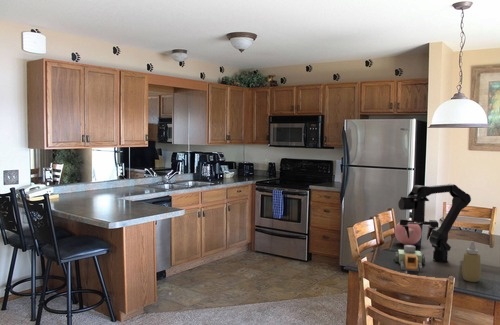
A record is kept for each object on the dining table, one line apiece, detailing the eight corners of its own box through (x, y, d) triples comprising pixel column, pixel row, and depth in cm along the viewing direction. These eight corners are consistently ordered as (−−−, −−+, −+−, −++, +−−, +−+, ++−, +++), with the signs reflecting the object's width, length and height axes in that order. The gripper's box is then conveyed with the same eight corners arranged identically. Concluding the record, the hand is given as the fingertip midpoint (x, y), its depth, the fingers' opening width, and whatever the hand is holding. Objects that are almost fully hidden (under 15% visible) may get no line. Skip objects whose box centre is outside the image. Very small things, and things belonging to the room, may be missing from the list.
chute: (416, 264, 216) (416, 254, 216) (417, 269, 208) (418, 259, 207) (404, 263, 218) (404, 253, 217) (405, 268, 209) (405, 258, 209)
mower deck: (423, 260, 225) (423, 245, 224) (424, 265, 216) (425, 250, 215) (394, 258, 229) (395, 243, 228) (395, 263, 220) (395, 247, 219)
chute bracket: (420, 265, 216) (420, 261, 216) (422, 271, 206) (422, 267, 206) (400, 263, 219) (400, 259, 219) (401, 269, 208) (401, 265, 208)
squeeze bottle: (474, 277, 198) (476, 239, 197) (484, 283, 190) (486, 243, 189) (457, 277, 198) (459, 239, 197) (467, 283, 190) (468, 243, 189)
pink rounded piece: (391, 247, 251) (392, 222, 250) (396, 240, 269) (396, 216, 268) (419, 251, 244) (420, 224, 243) (422, 243, 262) (423, 218, 261)
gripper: (436, 208, 226) (435, 237, 227) (399, 206, 232) (398, 234, 233) (439, 211, 216) (438, 241, 217) (400, 209, 221) (399, 239, 222)
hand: (418, 239), depth 222 cm, fingers open, 9 cm apart
